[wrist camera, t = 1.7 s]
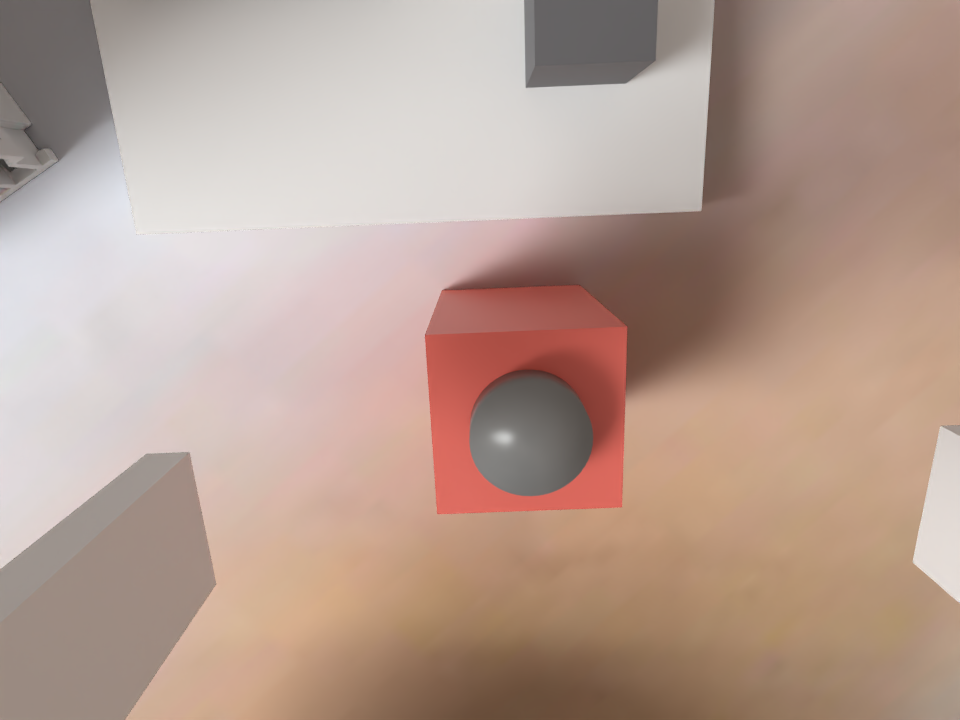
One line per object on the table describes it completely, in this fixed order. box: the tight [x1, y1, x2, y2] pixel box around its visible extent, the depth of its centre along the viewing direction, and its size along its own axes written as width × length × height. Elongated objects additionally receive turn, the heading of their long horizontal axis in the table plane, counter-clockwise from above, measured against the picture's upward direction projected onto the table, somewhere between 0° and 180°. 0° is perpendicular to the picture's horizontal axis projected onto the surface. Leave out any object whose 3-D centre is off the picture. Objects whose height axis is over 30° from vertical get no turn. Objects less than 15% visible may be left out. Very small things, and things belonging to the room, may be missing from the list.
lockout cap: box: [425, 285, 627, 514], centre depth 18 cm, size 5×5×8 cm
